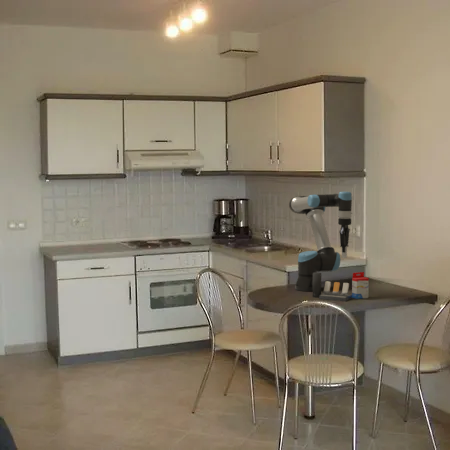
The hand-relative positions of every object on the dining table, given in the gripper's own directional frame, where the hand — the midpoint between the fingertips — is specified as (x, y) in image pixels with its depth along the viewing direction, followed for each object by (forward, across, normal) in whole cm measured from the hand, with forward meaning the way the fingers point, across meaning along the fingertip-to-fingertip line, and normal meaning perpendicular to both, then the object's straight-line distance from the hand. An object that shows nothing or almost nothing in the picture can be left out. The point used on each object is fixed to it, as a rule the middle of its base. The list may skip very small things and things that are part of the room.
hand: (344, 257), depth 421 cm
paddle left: (+19, -13, +6) cm, 24 cm away
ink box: (+22, -5, -12) cm, 26 cm away
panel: (+22, -13, +1) cm, 26 cm away
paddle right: (+19, -13, -5) cm, 23 cm away
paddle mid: (+19, -13, +1) cm, 23 cm away
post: (+22, -13, +12) cm, 28 cm away
